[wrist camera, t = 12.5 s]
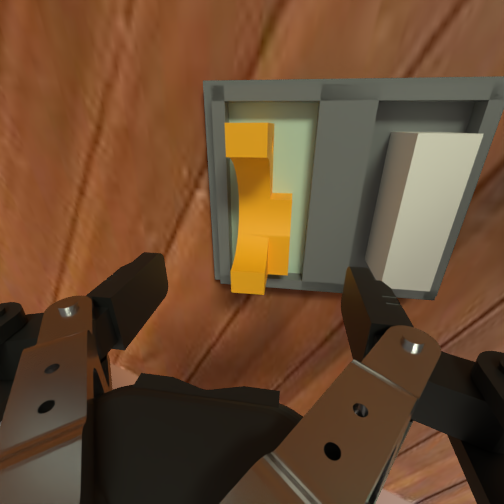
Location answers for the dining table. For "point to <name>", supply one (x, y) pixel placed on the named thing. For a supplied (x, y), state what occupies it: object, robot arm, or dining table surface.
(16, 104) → the dining table surface
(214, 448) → the robot arm
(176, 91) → the dining table surface
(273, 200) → the orange stepped block
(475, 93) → the dock
